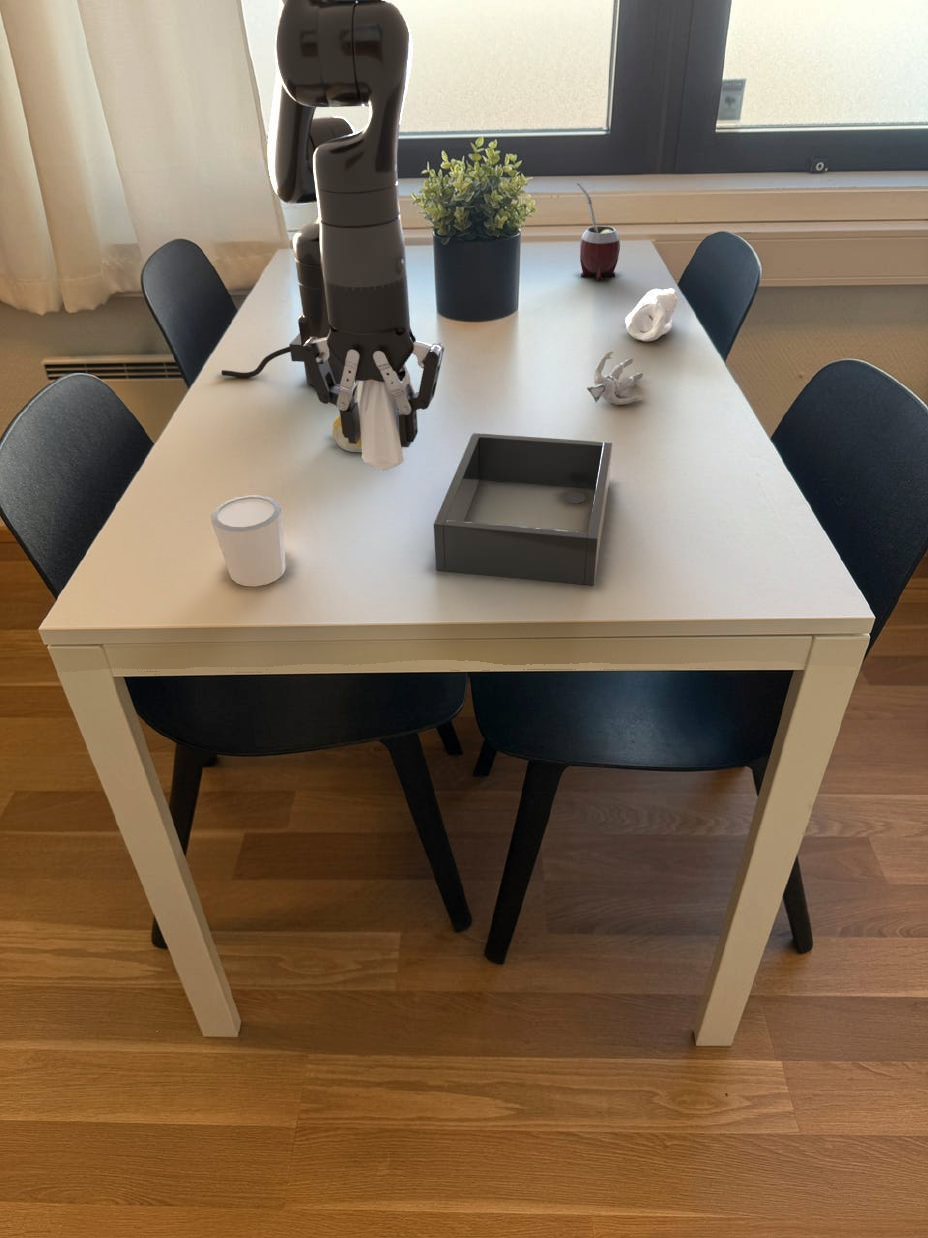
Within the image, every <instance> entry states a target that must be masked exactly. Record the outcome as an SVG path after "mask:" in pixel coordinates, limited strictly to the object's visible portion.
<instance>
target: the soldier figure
mask: <svg viewBox="0 0 928 1238" xmlns="http://www.w3.org/2000/svg"><path fill="white" fill-rule="evenodd" d="M612 354H614V352H613V351H612V350H610V351H608V352H606V353H605V354H604V356H603V357H602V358H601V359H600V361H599V362H598V364H597V366H596V368H595V369H594V382H593V383H594V386H588V387H586V390H587V391H588V392H589V393H590V395H591V396H592V398H593V400H594V402H595V404H598V402H599V401H600V399H601V397H602V398H603V399H604V400H605V401H606V402H608V403H610V404H614V405H615V406H625V405H628V404H632V403H638V402H639V401H641V400H643V399H642V396H641V395H640V394H639V395H635V396H632V397H626V398H618V397H617V395H619V394H621V393H623V392H625V391H627V390H628V389H629V388H633V387H635V384H636V381H639V380H641V379H642V378H643V377H644V374H643V372H638V373H637V374H634V375H631V376H630V377H629V378H627V379H625V380H624V381H620V382H618V381H619V378H620V375H622V374H623V371H624V369H625V368H627V367H628V366H631V365H632V364H633V362H634V358H633V357H628V359H626V360H624V361H623V362H621V363H617V364H616V366H614V367H613V370H612V371H611V372H610V374H608V375H604V376H603V374H602V372H603V370H604V367H605V364H606V361H607V360H611V359H612V358H613V357H612Z"/></svg>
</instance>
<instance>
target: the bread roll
mask: <svg viewBox="0 0 928 1238" xmlns="http://www.w3.org/2000/svg"><path fill="white" fill-rule="evenodd" d="M331 438H332V440H333V441H334V442H335V443H336V444H337V446H338V447H339V448H341V449H342V450H345V451H346V452H350V453H362V448H361V447H362V444H361V438H360V439H359V441H358V443H357V444H349V441H348V438H345V437H344V435H343V433H342V426H341V418H340V414H339V415H338V416H337V417H336V418H335V420H333V424H332V436H331Z"/></svg>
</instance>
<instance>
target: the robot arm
mask: <svg viewBox="0 0 928 1238" xmlns="http://www.w3.org/2000/svg"><path fill="white" fill-rule="evenodd" d="M275 33H276V34H275V43H274V57H275V65H276V73H275V82H274V90H273V97H272V106H271V114H270V120H269V130H268V139H267V165H268V166H267V167H268V173H269V176H270V177H269V179H270V182H271V185H272V187H273V190H274V192H275V194H276V196H277V197H278V198H279V199H280V200H281V201H282V202H283V203H286V204H288V205H293V206H297V205H299V206H301V205H310V204H315V203H317V212H318V215H317V217H315V218H314V219H313V220H312V221H311V222H309V223H307V224H306V225H304V227H302V228H300V229H299V230H298V231H296V233H295V234H294V236H293V237H292V247H293V254H294V255H293V256H294V261H295V268H296V276H297V283H298V290H299V297H300V304H301V312H302V314H301V315H300V316H299V317H298V319H297V323H298V330H299V333H298V334H297V335H296V337H295V338H294V339H292V341H291V342H290V343H289V344H288V345H289V346H286V347H284V348H280V349H278V350H276V351H273V352H271V353H270V354H267V355H266V356H265V357H264V358H263V359H262V360H261V361H260V363H259V365H258V366H256V369H254V370H251V371H247V372H240V371H233V370H227V369H222V370H221V376H225V377H234V378H239V379H249V378H253V377H255V376H258V375H259V374H260V373H261V372H263V370H264V369H265V368H266V366H267V364H268V363H269V362H271V361H272V360H274V359H275V358H277V357H279V356H282V355H285V354H288V353H290V359H291V362H300V363H303V366H304V373H305V374H304V375H305V379H306V380H305V381H306V385H309V386H313V387H314V390H315V392H316V395H317V397H318V401H319V402H321V404H325V405H326V404H331V405H334V406H335V407H336V408H337V409H338V411H339V415H340V418H341V426H342V433H343V435H344V437H345V438H348V441H349V444H357V443H358V441H359V439H360V438H361V430H360V416H359V407H358V401H356V396H357V392H358V385H359V382H360V381H367V380H375V381H378V382H385V383H386V385H387V388H388V390H389V392H390V394H391V395H393V396H394V398H395V401H396V403H397V405H398V408H399V410H400V413H399V414H398V418H399V430H400V443H401V447H402V448H406V449H407V448H409V447H410V445H411V444H412V443H414V441H415V440H416V437H417V435H418V433H419V430H418V429H419V427H418V413H417V411H419V410H422V411H423V410H427V409H428V408H429V407H430V405H431V403H432V400H433V399H434V397H435V393H436V389H437V385H438V380H439V375H440V370H441V365H442V361H443V356H444V352H445V347H444V345H443V344H442V343H441V342H439V341H436V342H433V343H432V344H428V343H426V342H421V341H419V340H417V337H416V336H415V334H414V333H413V331H412V328H411V319H410V318H411V317H410V303H409V302H410V301H409V289H408V273H407V258H406V255H407V254H406V243H405V237H404V231H403V227H402V220H401V210H400V195H399V182H398V180H399V179H398V150H399V149H398V147H399V137H400V129H401V120H402V114H403V109H404V103H405V98H406V94H407V90H408V84H409V79H410V74H411V67H412V59H413V41H412V40H413V39H412V35H411V30H410V28H409V25H408V23H407V21H406V19H405V16H404V15H403V13H402V12H401V11H400V10H399V8H398V7H397V6H396V5H394V4H393V3H392V2H390V1H388V0H278V23H277V29H276V32H275ZM331 107H332V108H339V107H340V108H343V107H344V108H345V107H347V108H348V107H369V117H368V120H367V123H366V126H364V128H363V129H361V130H360V131H357V132H355V129H354V127H353V126H352V124H351V123H350V122H349V121H348V120H347V119H346V118H345V117H342V116H337V115H336V116H335V115H333V116H323V117H315V118H314V116H315V113H316V110H317V108H331ZM412 354H413V355H415V357H416V358H417V359H416V360H417V365H418V367H419V368H421V369H422V374H421V379H420V384H419V389H418V391H417V392H415V390H414V387H413V385H412V383H411V376H410V373H409V371H408V368H407V365H406V363H407V362H408V360H409V359H410V357H411V355H412Z"/></svg>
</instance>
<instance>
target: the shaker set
mask: <svg viewBox="0 0 928 1238" xmlns="http://www.w3.org/2000/svg"><path fill="white" fill-rule="evenodd" d="M356 396H357V402H358V407H359V416H360V430H361V444H362V447H361V448H362V452H361V458H362V460H363V462H364V463H366V464H367V465H369V466H370V467H372V468H374V469H375V470H377V471H382V472H383V471H387V470H390V469H393V468H395V467H397V466H399V465H401V464H403V463H404V461H405V458H404V454H403V447H401V443H400V430H399V418H398V414H399V413H400V410H399V408H398V405H397V403H396V401H395V398H394V396H393V395H391V394H390V392H389V390H388V388H387V385H386V383H385V382H378V381H375V380H367V381H360V382H359V385H358V388H357V392H356Z"/></svg>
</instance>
